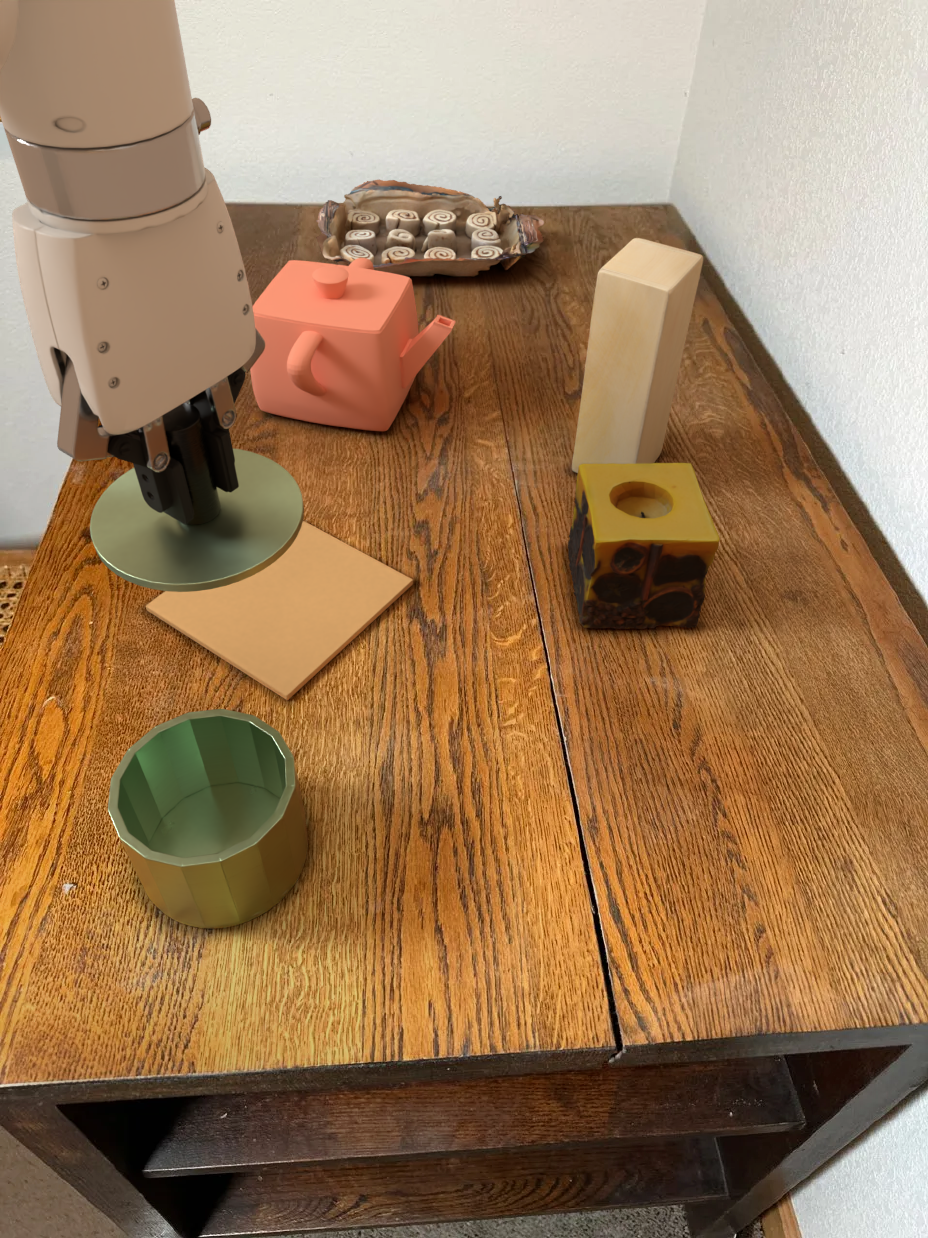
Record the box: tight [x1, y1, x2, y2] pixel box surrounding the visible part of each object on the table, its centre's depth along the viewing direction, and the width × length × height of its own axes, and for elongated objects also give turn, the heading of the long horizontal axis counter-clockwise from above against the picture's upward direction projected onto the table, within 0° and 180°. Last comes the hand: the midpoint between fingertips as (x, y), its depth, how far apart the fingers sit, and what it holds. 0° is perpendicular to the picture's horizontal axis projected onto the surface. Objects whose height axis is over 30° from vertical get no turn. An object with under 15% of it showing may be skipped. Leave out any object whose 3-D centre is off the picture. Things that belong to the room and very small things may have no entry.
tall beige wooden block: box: [571, 237, 704, 474], centre depth 86 cm, size 8×7×21 cm
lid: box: [89, 402, 305, 592], centre depth 52 cm, size 12×12×8 cm
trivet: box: [145, 520, 414, 701], centre depth 80 cm, size 16×16×1 cm
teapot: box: [249, 258, 456, 432], centre depth 95 cm, size 20×22×14 cm
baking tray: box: [315, 179, 545, 277], centre depth 122 cm, size 30×22×5 cm
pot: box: [107, 708, 309, 930], centre depth 61 cm, size 11×11×8 cm
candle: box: [567, 462, 721, 630], centre depth 78 cm, size 10×10×10 cm
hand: (193, 494), depth 53 cm, fingers closed on lid, 2 cm apart
